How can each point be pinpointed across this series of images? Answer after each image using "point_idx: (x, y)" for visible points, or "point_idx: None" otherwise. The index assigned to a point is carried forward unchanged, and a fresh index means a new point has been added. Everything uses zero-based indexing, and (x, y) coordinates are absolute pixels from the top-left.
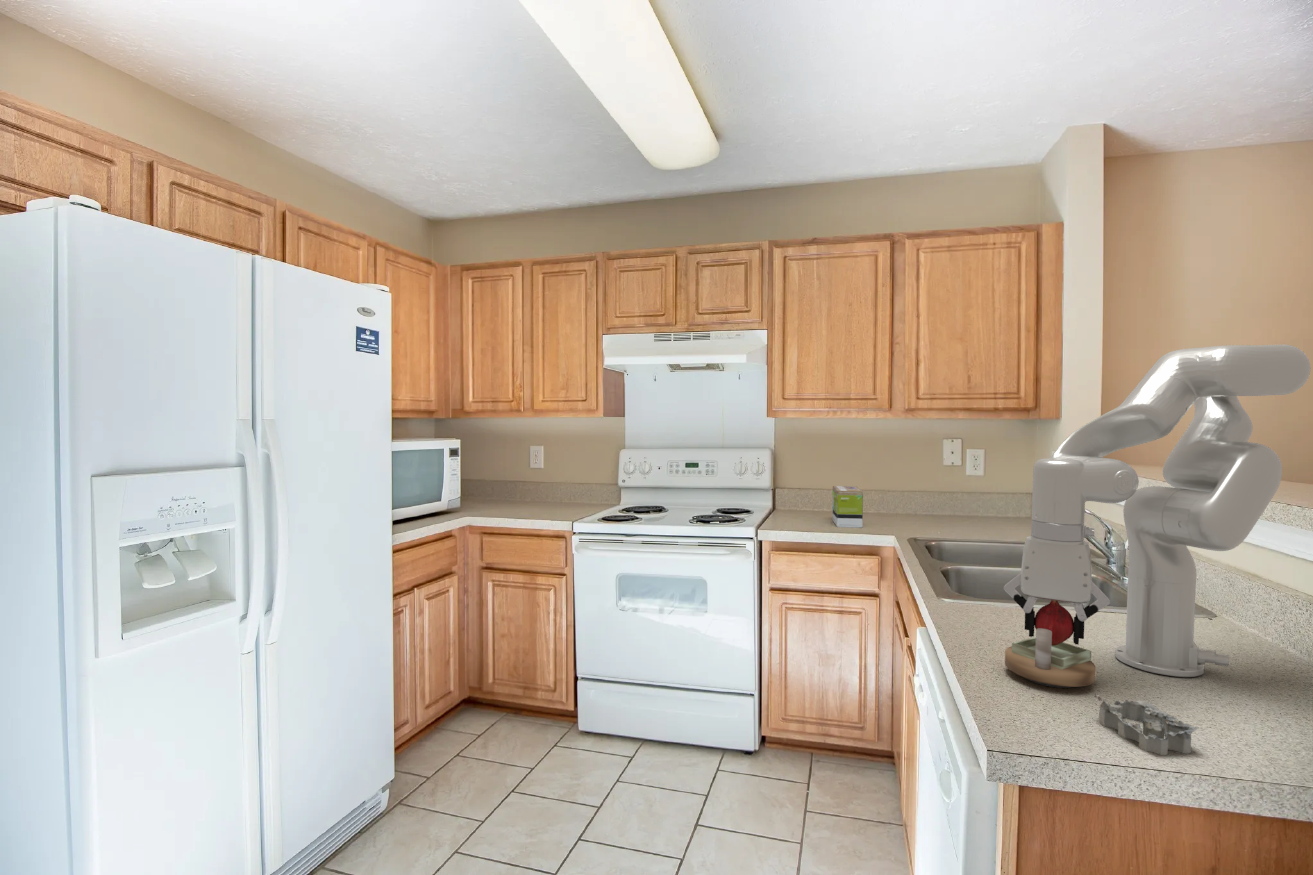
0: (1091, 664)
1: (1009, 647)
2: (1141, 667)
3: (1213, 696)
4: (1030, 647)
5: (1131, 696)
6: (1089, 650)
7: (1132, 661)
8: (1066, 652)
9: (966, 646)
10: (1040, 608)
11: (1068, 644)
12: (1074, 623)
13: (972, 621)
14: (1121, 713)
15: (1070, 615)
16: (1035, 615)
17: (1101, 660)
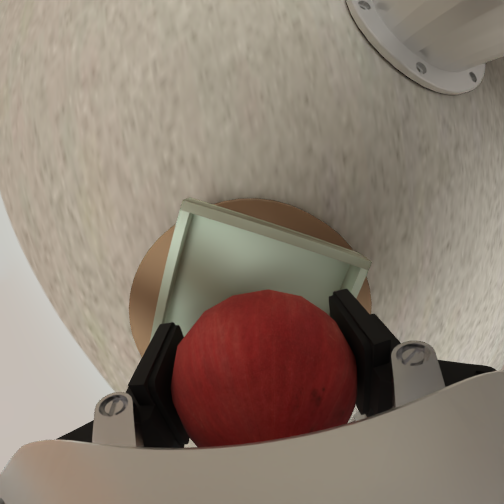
0: (361, 291)
1: (131, 311)
2: (418, 80)
3: (501, 168)
4: (180, 291)
5: (411, 282)
6: (366, 262)
7: (405, 66)
8: (289, 255)
9: (37, 216)
10: (191, 434)
11: (297, 245)
12: (359, 410)
13: (25, 30)
14: None
15: (351, 414)
16: (171, 391)
17: (332, 53)
